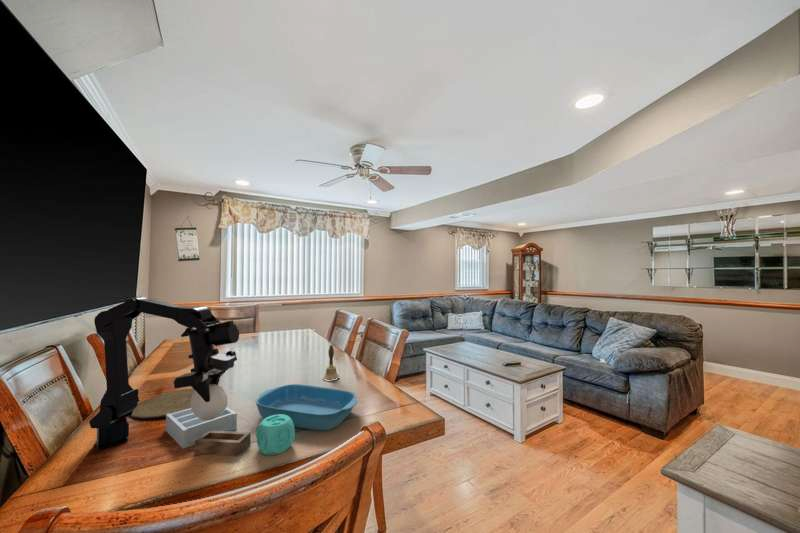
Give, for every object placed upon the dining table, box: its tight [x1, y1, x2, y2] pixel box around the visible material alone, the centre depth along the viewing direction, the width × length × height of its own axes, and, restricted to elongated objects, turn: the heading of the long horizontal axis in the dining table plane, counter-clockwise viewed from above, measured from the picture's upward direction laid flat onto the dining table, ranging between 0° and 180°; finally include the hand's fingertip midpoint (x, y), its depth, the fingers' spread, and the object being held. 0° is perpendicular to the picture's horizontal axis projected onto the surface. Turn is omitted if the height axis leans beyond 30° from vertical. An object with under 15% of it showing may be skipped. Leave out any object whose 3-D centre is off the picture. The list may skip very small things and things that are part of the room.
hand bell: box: [322, 344, 340, 380], centre depth 154 cm, size 8×8×16 cm
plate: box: [191, 384, 229, 421], centre depth 95 cm, size 2×10×10 cm, turn 85°
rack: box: [165, 406, 238, 450], centre depth 103 cm, size 15×17×5 cm
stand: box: [194, 430, 252, 456], centre depth 92 cm, size 13×6×4 cm, turn 86°
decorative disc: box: [130, 388, 195, 420], centre depth 123 cm, size 29×3×30 cm
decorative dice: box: [255, 414, 296, 456], centre depth 93 cm, size 8×8×8 cm
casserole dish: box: [255, 383, 358, 432], centre depth 113 cm, size 37×22×7 cm, turn 74°
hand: (210, 399), depth 95 cm, fingers closed on plate, 2 cm apart
